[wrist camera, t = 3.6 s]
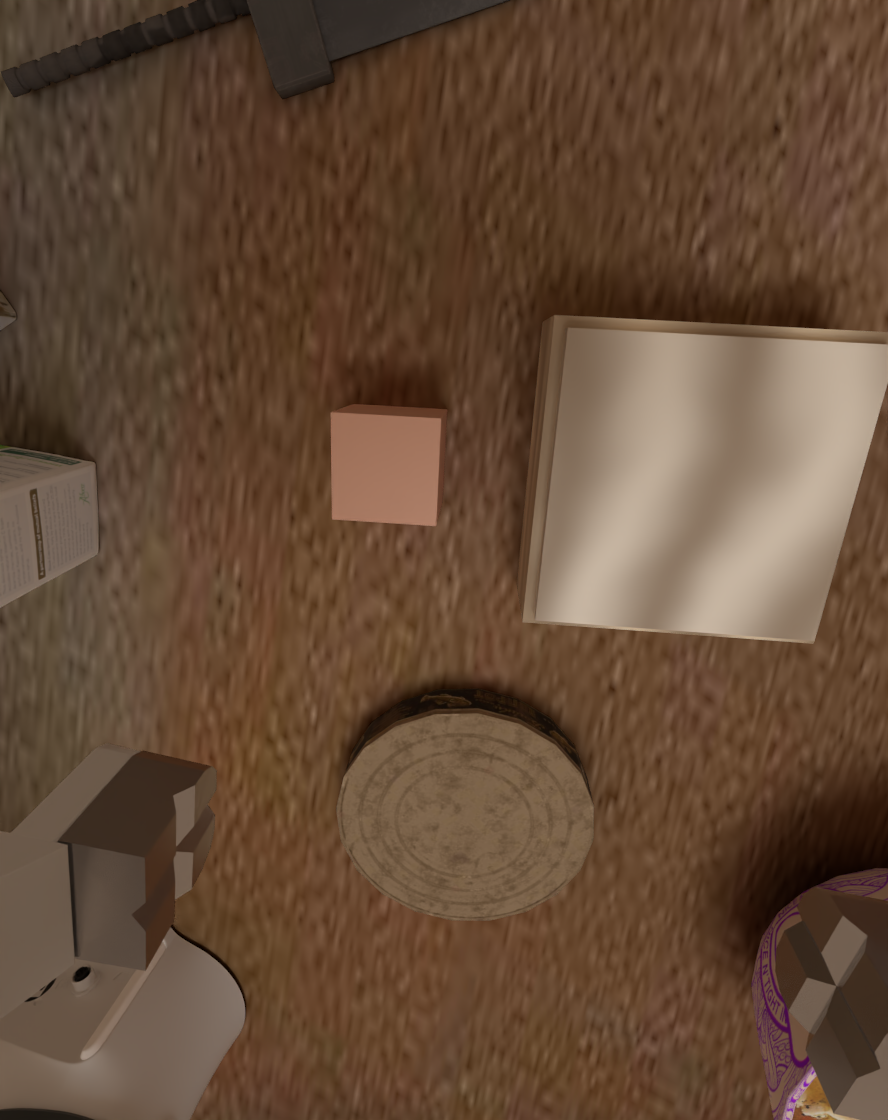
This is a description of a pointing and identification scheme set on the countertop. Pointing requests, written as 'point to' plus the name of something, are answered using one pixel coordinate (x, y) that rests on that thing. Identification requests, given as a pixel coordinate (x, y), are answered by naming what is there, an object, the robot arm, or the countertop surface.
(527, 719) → the brown flat disc
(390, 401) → the countertop surface
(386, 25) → the flat dark sword
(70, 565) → the syrup box
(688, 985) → the countertop surface
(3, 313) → the brown printed carton
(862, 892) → the bowl of food
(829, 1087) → the robot arm
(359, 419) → the terracotta cube
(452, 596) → the countertop surface
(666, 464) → the cream square block
